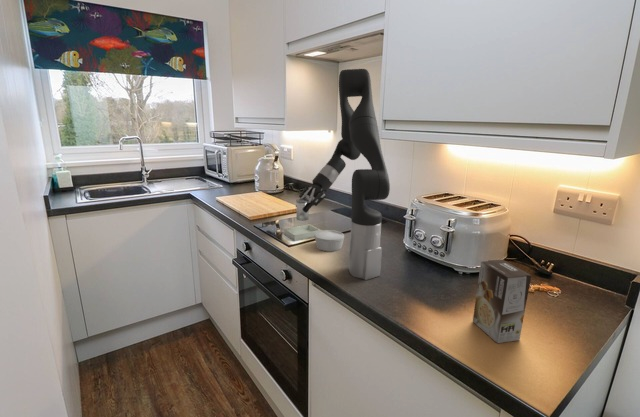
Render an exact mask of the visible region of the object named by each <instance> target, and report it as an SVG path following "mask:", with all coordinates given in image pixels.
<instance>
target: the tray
mask: <svg viewBox="0 0 640 417" xmlns="http://www.w3.org/2000/svg"><path fill="white" fill-rule="evenodd" d="M318 231H322V229H320V228H318V227H316V226H313V225H312V224H310V223H308V224H303V225H298V226H291V227H285V228H283V235H284V236H285V237H288V238H289V239H291V240H292V241H293V242H298V241H303V240H308V239H313V238H315V233H316V232H318Z"/></svg>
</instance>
